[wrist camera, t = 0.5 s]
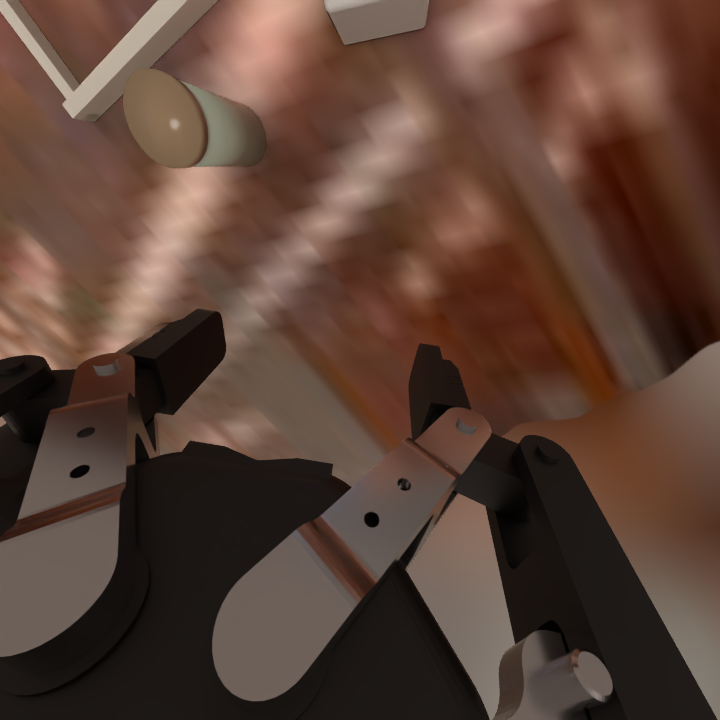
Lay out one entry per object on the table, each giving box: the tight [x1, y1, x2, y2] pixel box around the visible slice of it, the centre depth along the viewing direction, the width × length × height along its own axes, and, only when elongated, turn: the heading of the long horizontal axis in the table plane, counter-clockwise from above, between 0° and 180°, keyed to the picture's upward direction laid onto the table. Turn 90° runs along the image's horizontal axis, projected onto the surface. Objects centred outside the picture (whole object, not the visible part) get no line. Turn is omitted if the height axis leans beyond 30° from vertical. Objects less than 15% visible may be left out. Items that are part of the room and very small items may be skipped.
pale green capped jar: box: [123, 68, 266, 168], centre depth 25 cm, size 5×5×12 cm
